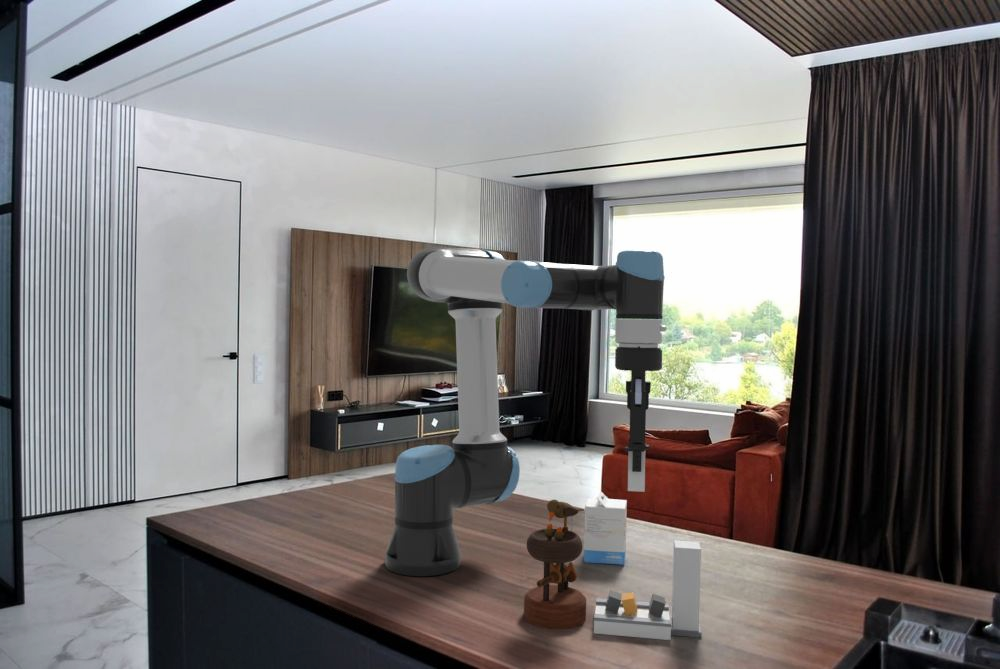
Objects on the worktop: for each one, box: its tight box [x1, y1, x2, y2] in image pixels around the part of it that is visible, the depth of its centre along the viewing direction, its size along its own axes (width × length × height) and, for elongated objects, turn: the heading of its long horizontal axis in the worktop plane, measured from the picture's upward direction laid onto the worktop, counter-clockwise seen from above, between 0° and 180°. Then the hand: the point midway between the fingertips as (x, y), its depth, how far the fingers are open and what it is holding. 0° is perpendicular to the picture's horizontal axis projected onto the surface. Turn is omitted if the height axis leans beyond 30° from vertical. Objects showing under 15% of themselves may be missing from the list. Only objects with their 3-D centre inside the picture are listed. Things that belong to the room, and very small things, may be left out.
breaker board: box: [593, 597, 672, 641], centre depth 126 cm, size 12×9×2 cm
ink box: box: [583, 490, 628, 566], centre depth 161 cm, size 9×8×13 cm
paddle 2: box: [621, 591, 638, 615], centre depth 126 cm, size 2×3×2 cm
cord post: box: [670, 539, 703, 638], centre depth 124 cm, size 5×5×14 cm
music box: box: [523, 499, 587, 630], centre depth 128 cm, size 15×11×20 cm
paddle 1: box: [605, 590, 623, 614], centre depth 127 cm, size 2×3×2 cm
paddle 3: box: [649, 593, 666, 618], centre depth 125 cm, size 2×3×2 cm
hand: (636, 490), depth 125 cm, fingers closed
